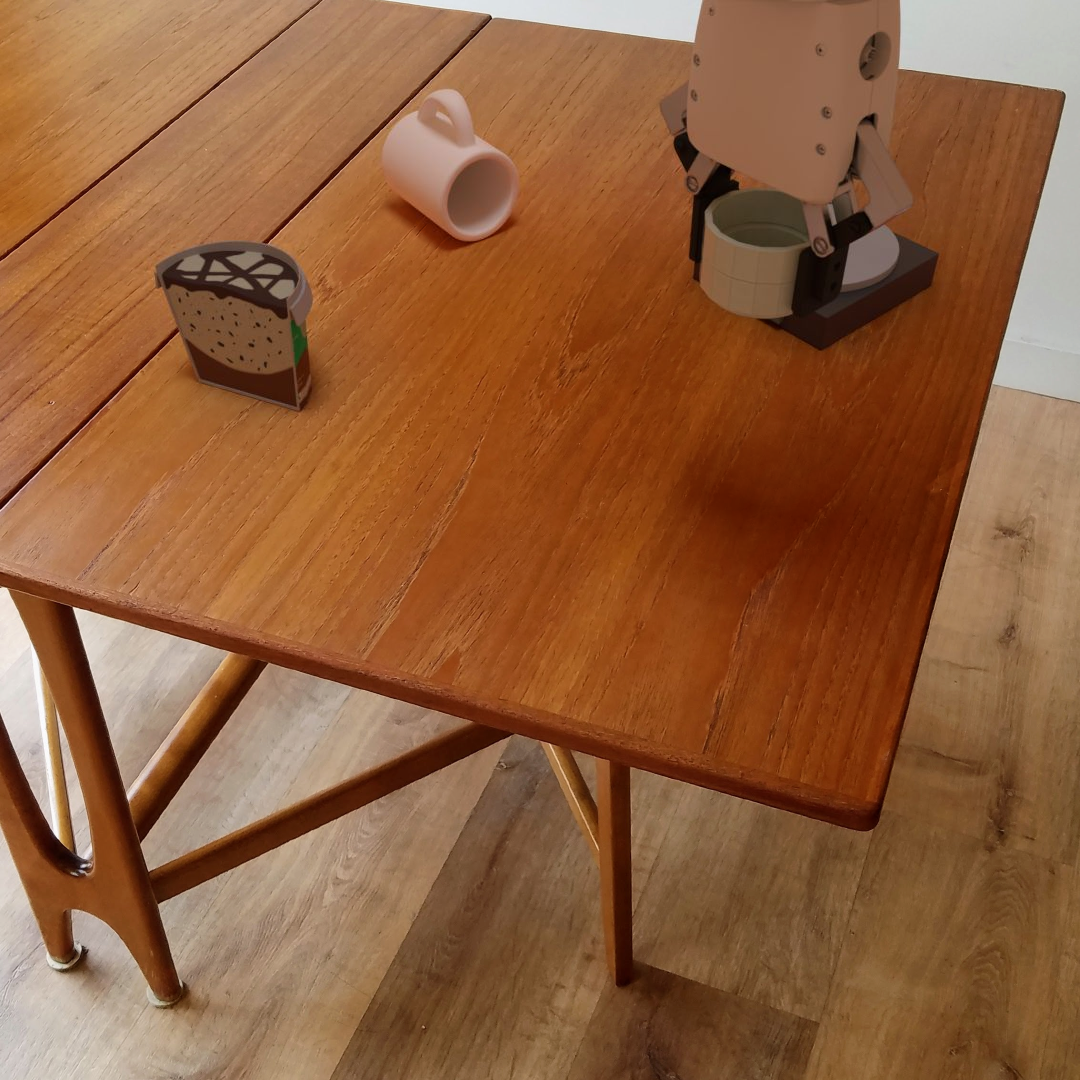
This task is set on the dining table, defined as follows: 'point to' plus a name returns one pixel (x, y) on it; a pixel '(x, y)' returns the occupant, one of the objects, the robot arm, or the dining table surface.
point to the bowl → (753, 251)
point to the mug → (450, 169)
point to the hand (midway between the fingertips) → (761, 277)
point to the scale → (865, 286)
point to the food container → (242, 318)
